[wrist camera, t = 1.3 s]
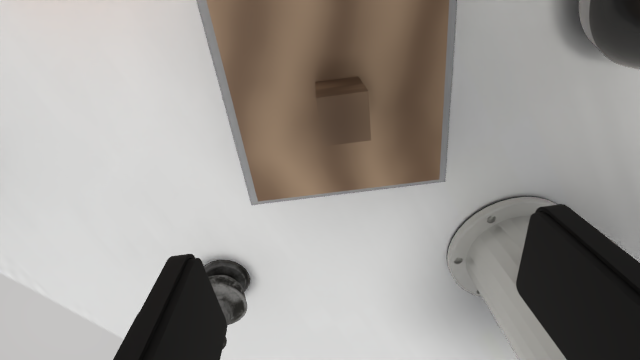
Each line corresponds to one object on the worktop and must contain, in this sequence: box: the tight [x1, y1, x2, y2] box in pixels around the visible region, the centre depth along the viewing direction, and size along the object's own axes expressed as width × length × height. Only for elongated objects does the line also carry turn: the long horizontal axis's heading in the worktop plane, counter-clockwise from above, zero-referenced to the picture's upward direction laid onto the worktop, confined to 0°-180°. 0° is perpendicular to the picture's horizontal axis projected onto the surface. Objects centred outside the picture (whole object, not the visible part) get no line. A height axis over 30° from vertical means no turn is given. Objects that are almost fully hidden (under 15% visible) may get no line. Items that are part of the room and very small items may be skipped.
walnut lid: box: [206, 0, 449, 202], centre depth 23 cm, size 16×16×6 cm
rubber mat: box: [197, 0, 457, 205], centre depth 26 cm, size 18×18×1 cm
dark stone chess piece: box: [204, 260, 250, 349], centre depth 30 cm, size 6×6×12 cm
